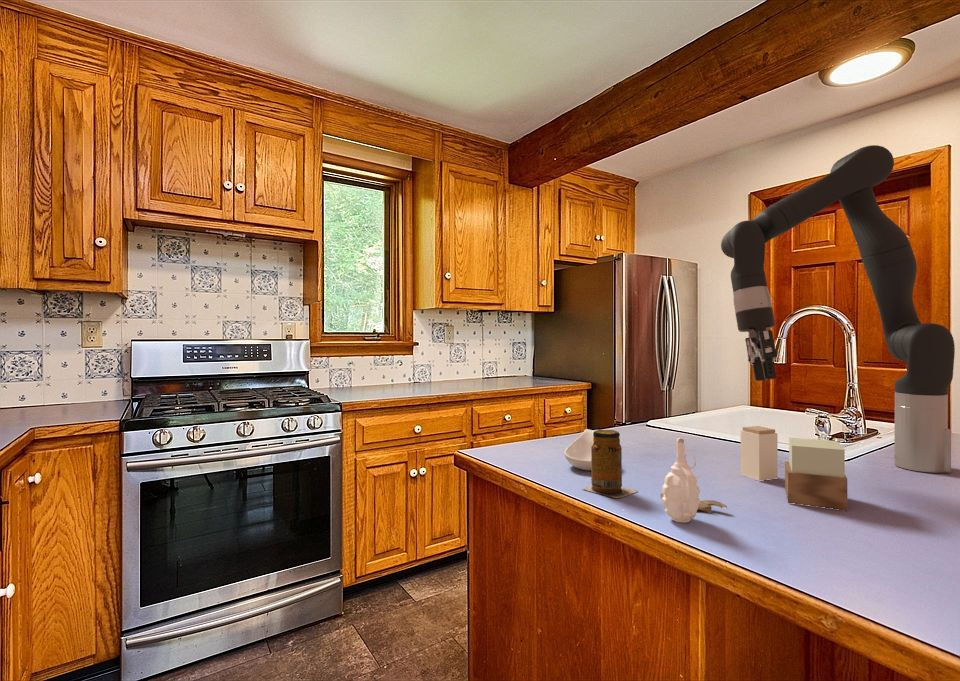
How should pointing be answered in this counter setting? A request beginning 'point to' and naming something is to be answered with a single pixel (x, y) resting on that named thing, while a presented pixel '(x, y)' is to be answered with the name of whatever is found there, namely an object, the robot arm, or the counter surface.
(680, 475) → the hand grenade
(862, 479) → the counter surface
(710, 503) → the jawbone
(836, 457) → the middle block
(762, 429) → the tea tin
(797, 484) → the bottom block
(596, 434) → the condiment
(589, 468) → the spoon rest
